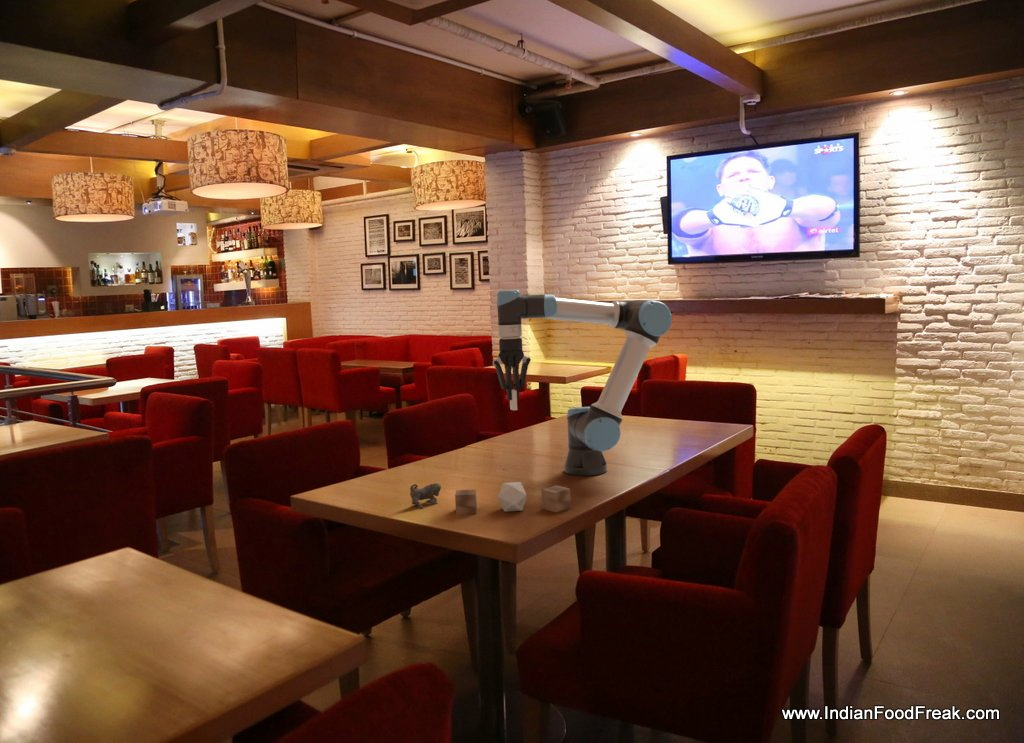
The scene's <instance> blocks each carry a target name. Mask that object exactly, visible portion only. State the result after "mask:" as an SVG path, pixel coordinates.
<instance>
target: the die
mask: <svg viewBox="0 0 1024 743" xmlns="http://www.w3.org/2000/svg"><path fill="white" fill-rule="evenodd" d="M527 497H528V496H527V493H526V491H525V488H524V486H523V484H522V482H520V481H514V482H513V481H512V482H502V484H501V488H500V491H499V493H498V495H497V498H498V501H499V502H500V505H501V508H502V510H503V512H504V513H505V512H518V511H519V512H522V511H523V509H524V506H525V503H526V500H527Z"/></svg>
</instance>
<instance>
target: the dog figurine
mask: <svg viewBox="0 0 1024 743" xmlns="http://www.w3.org/2000/svg"><path fill="white" fill-rule="evenodd" d="M418 486H419V485H418V484H417V483H414V484H412V485H411V486H410V488H409V489H410V490H409V491H410V492H409V496H410V497H411V504H412V505H415V506H417V507H418V508H420V509H424V508H425V507H424V506H423V505H422V504H421V502H419V501H423V500H426V503H427V504H431V505H436V504H438V500H437V498H436V497H438V496H439V495H440V491H441V488H442V484H440V483H437V482H436V483H431V484H428V485H425V486H423V487H422V488H418ZM435 496H436V497H435Z"/></svg>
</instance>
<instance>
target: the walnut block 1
mask: <svg viewBox="0 0 1024 743" xmlns="http://www.w3.org/2000/svg"><path fill="white" fill-rule="evenodd" d="M454 500H455V502H454V503H455V515H456V516H459V515H463V516H464V515H465V516H466V515H477V512H478V502H477V488H475V489H473V488H472V489H456V490H455V494H454Z"/></svg>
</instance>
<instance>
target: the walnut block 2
mask: <svg viewBox="0 0 1024 743" xmlns="http://www.w3.org/2000/svg"><path fill="white" fill-rule="evenodd" d="M571 501H572V500H571V488H570V487H566V486H560V485H553V486H550V487H545V488H541V507H542V508H541V509H542V510H546V511H551V512H553V513H558V512H563V511H566V510H569V509H571V508H572V505H571V504H572V503H571Z"/></svg>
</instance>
